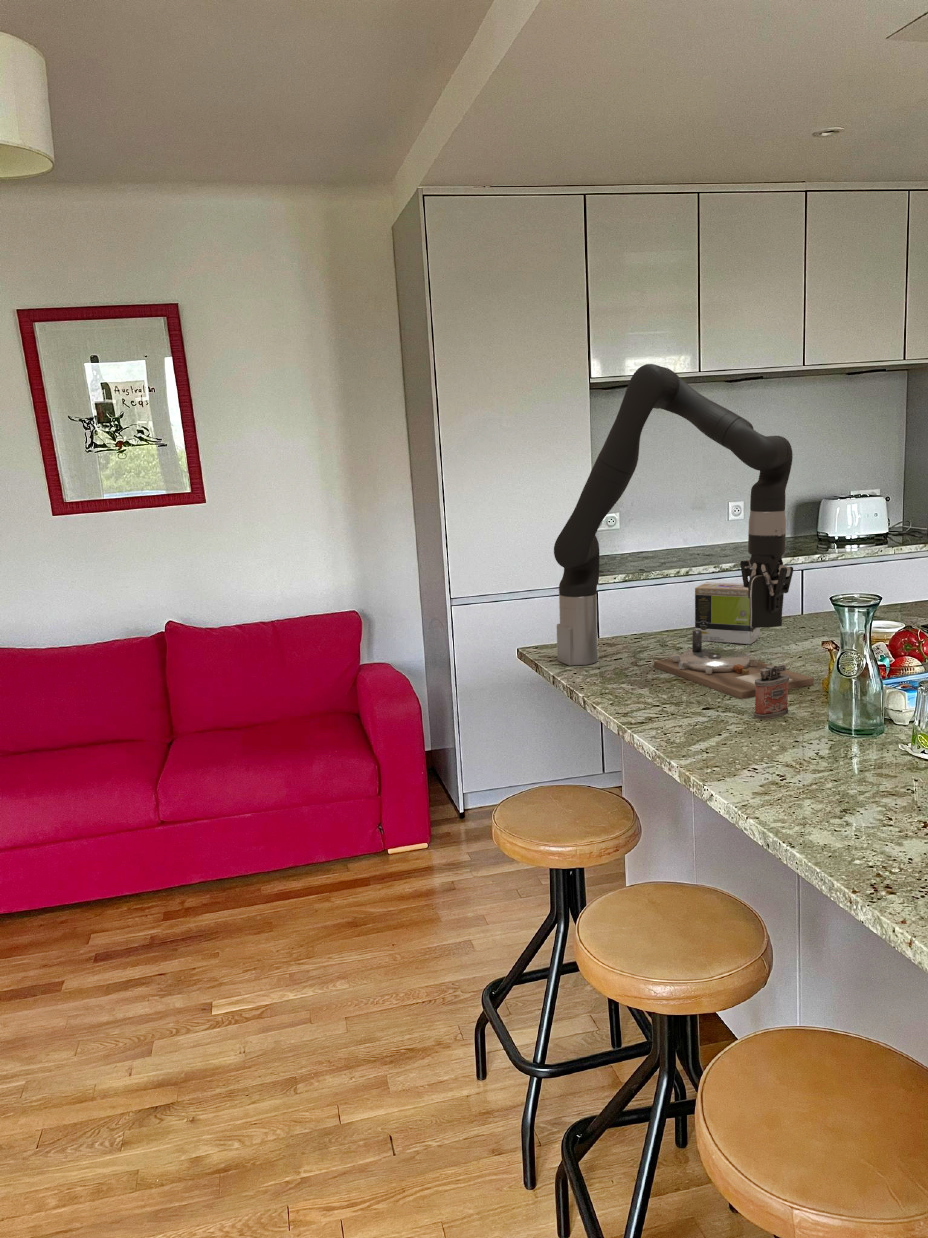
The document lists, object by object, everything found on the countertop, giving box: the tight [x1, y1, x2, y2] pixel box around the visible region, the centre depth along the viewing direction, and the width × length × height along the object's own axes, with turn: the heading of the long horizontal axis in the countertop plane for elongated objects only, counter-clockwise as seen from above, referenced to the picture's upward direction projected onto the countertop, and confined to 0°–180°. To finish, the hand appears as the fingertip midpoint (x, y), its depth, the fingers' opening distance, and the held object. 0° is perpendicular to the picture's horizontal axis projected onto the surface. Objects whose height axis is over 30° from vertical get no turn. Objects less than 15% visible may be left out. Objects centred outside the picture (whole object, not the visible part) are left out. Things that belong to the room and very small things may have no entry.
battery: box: [748, 575, 785, 629], centre depth 195 cm, size 7×4×11 cm, turn 93°
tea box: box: [694, 581, 761, 645], centre depth 242 cm, size 15×10×15 cm, turn 58°
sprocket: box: [672, 629, 759, 674], centre depth 213 cm, size 19×19×6 cm
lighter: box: [753, 663, 789, 720], centre depth 179 cm, size 8×3×10 cm, turn 118°
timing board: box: [653, 657, 815, 700], centre depth 209 cm, size 20×31×2 cm, turn 24°
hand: (764, 610), depth 196 cm, fingers closed on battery, 4 cm apart
